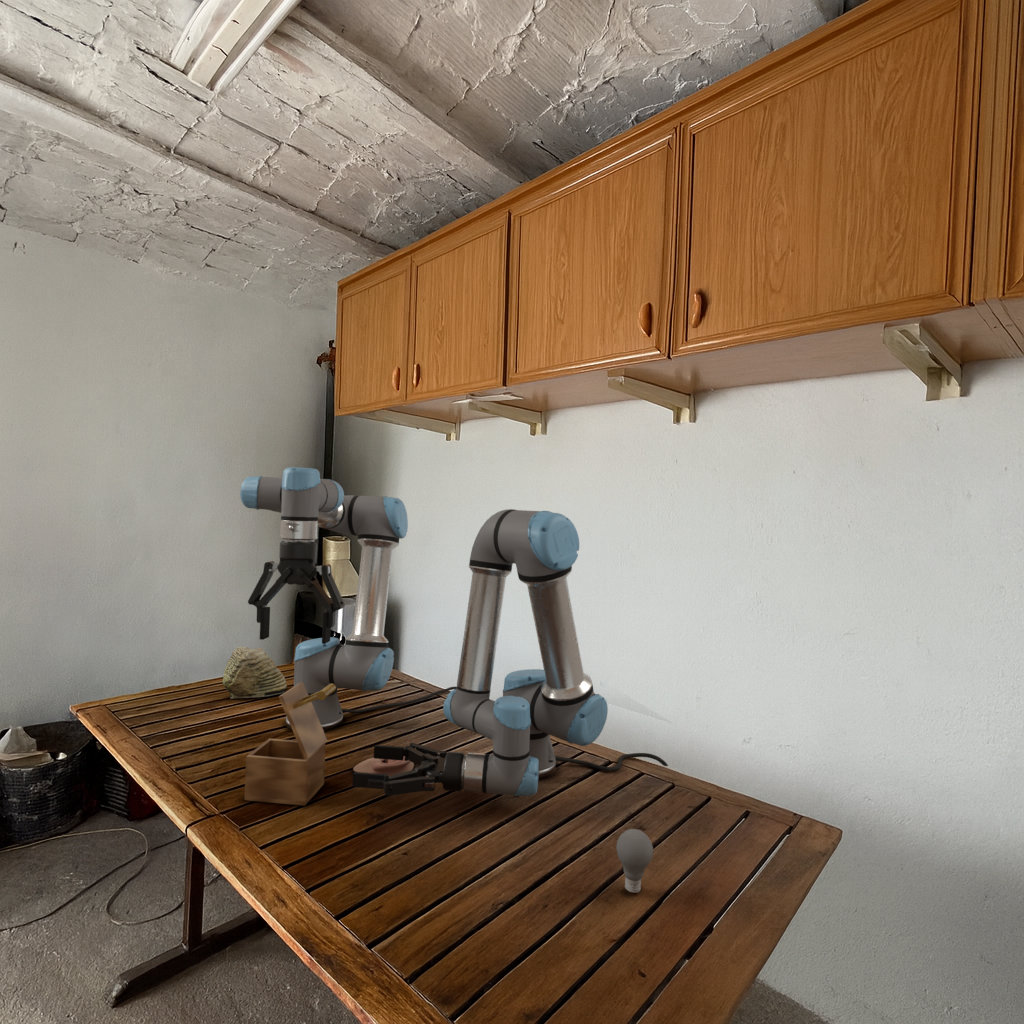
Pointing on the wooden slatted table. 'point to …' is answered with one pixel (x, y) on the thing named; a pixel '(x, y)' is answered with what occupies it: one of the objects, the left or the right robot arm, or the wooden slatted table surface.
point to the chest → (283, 773)
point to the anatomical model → (384, 766)
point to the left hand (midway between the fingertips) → (295, 640)
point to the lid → (305, 716)
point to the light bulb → (634, 857)
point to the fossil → (252, 674)
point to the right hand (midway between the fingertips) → (364, 764)
